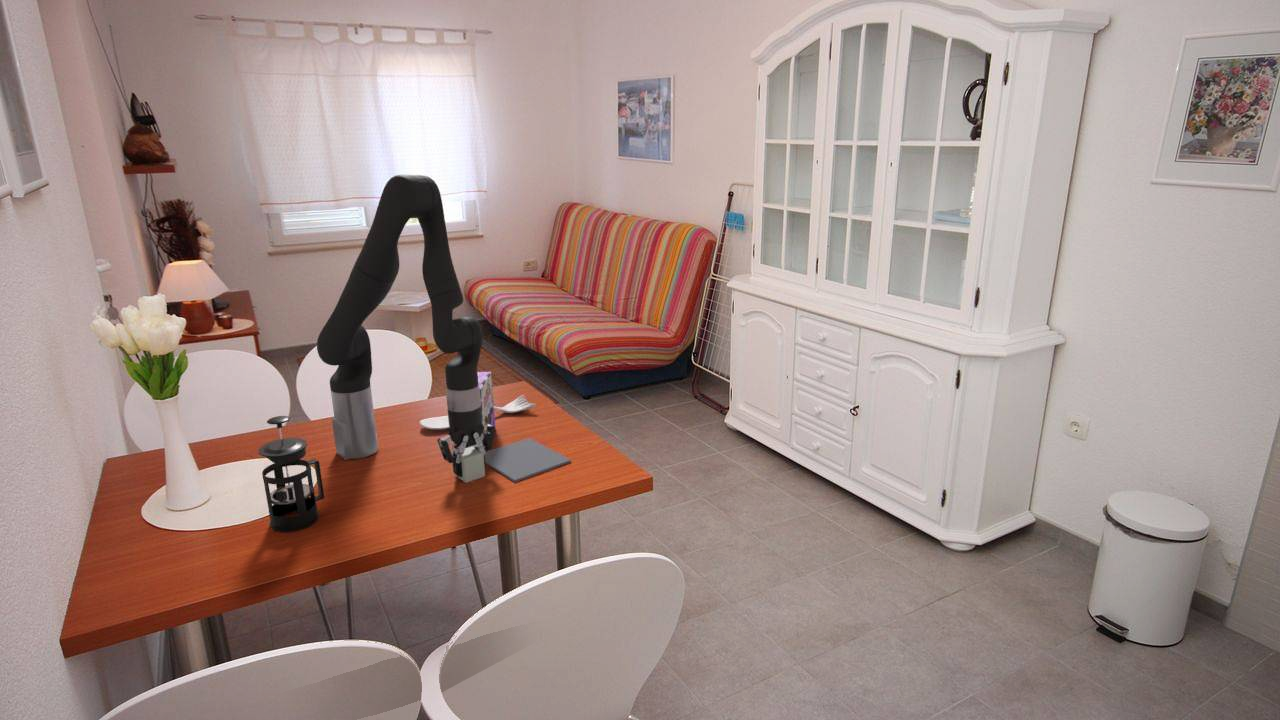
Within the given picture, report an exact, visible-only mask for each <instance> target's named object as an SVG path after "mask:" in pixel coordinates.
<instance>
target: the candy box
mask: <svg viewBox="0 0 1280 720" xmlns="http://www.w3.org/2000/svg"><path fill="white" fill-rule="evenodd" d="M477 372H478V385H479V390H480V396H481V409H482V424H483V425H486V424H487V423H488V424H490V425H492V426H494V427H495V428H496V418H495V417H496V415H495V410H494V406H495V405H494V403H495V402H494V389H493V378H492V375H493V374H492V371H477ZM483 438H484V433H483V432H482V434H481V436H480V440H481V442H482V444H483ZM469 447H472V446H469ZM473 447H474V446H473ZM467 448H468V447H467Z"/></svg>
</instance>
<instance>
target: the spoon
mask: <svg viewBox="0 0 1280 720" xmlns="http://www.w3.org/2000/svg"><path fill="white" fill-rule="evenodd" d="M536 406H537V403H532V402H530V403H529V401H528V399H526V396H525V395H524V394H522V395H519V396H518V397H517V398H516V399H514V400H512V401H511V402H509V403H507V404H505V405H504V406H502V407H498V406H496V405H494V411H499V412H502V413H506V414H507V413H508V414H515V413H519V412H522V411H523V412H524V411H525V410H529V409H530V410H531V409H532V408H535V407H536ZM419 425H420V427H422V428H423V429H427V430H435V431H439V430H441V431H442V430H448V429H450V427H449V420H448V415H443V416H433V417H429V418H424V419H421V420H419Z"/></svg>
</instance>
